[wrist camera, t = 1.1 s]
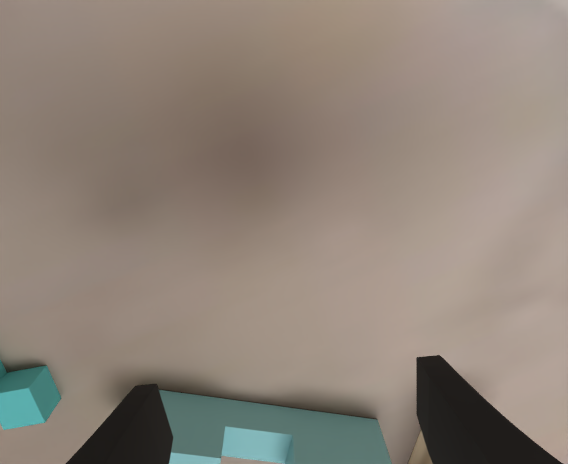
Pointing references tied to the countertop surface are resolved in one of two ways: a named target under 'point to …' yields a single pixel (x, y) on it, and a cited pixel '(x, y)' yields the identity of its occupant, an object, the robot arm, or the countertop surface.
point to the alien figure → (26, 396)
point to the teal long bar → (267, 433)
